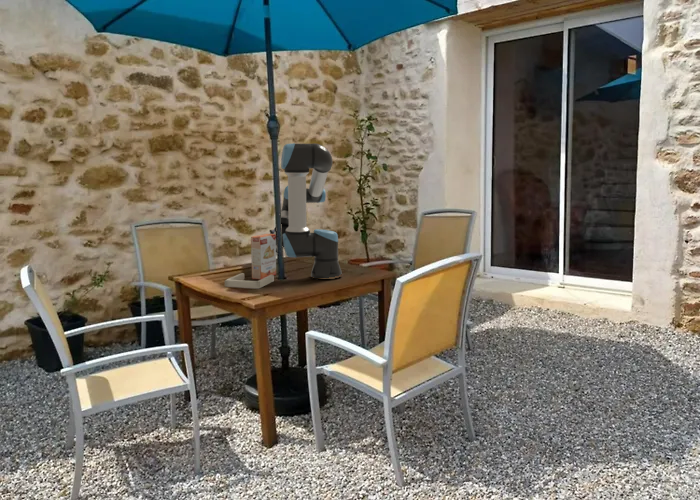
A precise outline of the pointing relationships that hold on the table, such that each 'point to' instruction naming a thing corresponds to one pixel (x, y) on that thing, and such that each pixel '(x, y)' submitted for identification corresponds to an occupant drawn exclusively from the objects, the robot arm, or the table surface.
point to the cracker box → (263, 255)
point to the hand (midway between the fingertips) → (273, 257)
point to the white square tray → (247, 282)
